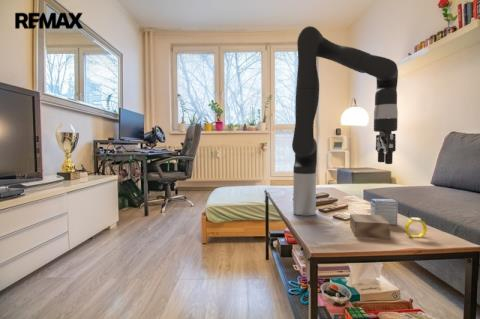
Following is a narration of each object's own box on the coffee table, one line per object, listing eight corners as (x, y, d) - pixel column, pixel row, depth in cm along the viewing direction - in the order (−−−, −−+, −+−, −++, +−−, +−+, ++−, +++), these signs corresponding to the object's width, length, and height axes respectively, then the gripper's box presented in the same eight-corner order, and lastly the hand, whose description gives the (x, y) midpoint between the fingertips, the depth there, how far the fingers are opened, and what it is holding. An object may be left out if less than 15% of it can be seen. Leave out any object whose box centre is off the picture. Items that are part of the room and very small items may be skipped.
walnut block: (354, 237, 86) (355, 221, 86) (350, 227, 96) (350, 213, 95) (389, 239, 83) (390, 223, 83) (381, 229, 93) (381, 215, 93)
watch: (408, 239, 84) (408, 220, 83) (403, 236, 86) (402, 217, 86) (428, 237, 83) (427, 218, 83) (422, 234, 86) (422, 216, 86)
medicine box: (392, 221, 101) (392, 198, 101) (397, 225, 97) (398, 201, 96) (370, 221, 102) (370, 198, 102) (374, 224, 98) (375, 201, 97)
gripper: (369, 120, 105) (368, 161, 106) (380, 116, 91) (379, 164, 92) (390, 119, 104) (389, 161, 105) (404, 115, 90) (403, 164, 91)
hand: (384, 163), depth 98 cm, fingers open, 8 cm apart
